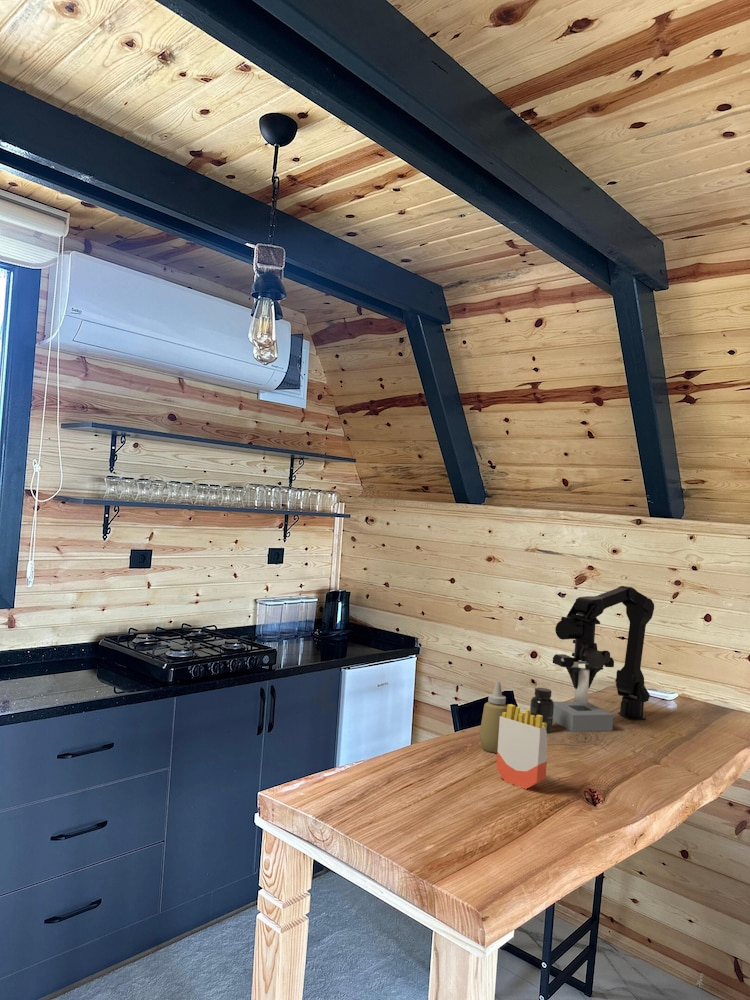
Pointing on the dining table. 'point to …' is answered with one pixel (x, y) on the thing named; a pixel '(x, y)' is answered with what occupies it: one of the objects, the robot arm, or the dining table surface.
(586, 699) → the peg
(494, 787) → the dining table surface
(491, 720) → the squeeze bottle
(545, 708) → the supplement bottle
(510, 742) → the french fries container
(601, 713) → the socket block
